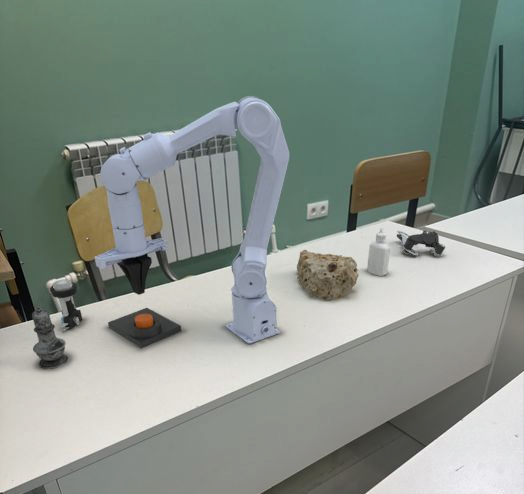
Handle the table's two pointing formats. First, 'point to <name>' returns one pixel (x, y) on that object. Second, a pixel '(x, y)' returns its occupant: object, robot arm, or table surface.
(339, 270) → the rock
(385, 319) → the table surface
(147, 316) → the round orange button cap
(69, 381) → the table surface
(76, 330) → the table surface
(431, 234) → the bicycle component
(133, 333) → the orange button switch
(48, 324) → the grey tiered figurine
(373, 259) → the eye dropper bottle
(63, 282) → the white black upright piece
